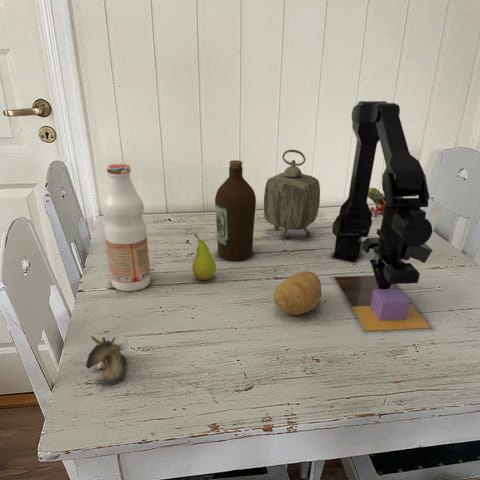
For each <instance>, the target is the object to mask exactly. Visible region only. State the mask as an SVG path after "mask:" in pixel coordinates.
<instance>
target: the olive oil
mask: <svg viewBox="0 0 480 480" xmlns="http://www.w3.org/2000/svg"><path fill="white" fill-rule="evenodd" d="M256 205H257V197H256V193H255V191H254V188H253V187H252V186H251V184H249V182H247V181H246V180H245V178H244V176H243V161H242V160H238V159H234V160H230V161H229V167H228V177H227V179H226V180H224V182H223V183H222V184H221V185H220V186H219V187H218V189H217V191H216V194H215V197H214V208H215V221H216V222H215V224H216V237H217V238H216V241H217V255H218V258H219V257H220V259H222V260H224V261H225V260H226V261H228V262H242V261H245V260H248V259H250V258H251V257H252V256H253V246H254V244H253V243H254V229H255V220H256V219H255V217H256Z"/></svg>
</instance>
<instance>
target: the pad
mask: <svg viewBox="0 0 480 480" xmlns="http://www.w3.org/2000/svg"><path fill="white" fill-rule="evenodd" d="M351 308H352V310H353V311H354V313H355V315H356V316H357V318H358V320H359V321H360V323H361V325H362V326H363V328H364V330H365V332H377V331H379V332H380V331H400V330H402V331H403V330H425V329H431V326H430V325H429V323H428V322H427V321H426V320H425V318H424V317H423V316H422V315H421V314H420V312H419V311H418V310H417V309H416V307H415V306H414V305H413V304H412V303H411V304H409V308H408V313H407V317H406V320H383V321H379V319H378V318H377V316H376V315H375V313H374V312H373V310H372V309H371V307H370V306H356V307H352V306H351Z"/></svg>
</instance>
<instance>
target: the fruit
mask: <svg viewBox="0 0 480 480" xmlns="http://www.w3.org/2000/svg"><path fill="white" fill-rule="evenodd" d="M194 237H195V238H196V239H197V241H198V242H197V243H198V244H197V246H196V253H195V254H196V255H195V256H194V257H195V258H194V260H193V261H192V267H191V268H192V272H193V274H194V276H195V277H196V278H197V279H198V280H200V281H207V280H210V279H211V278H212V277H213V276H214V275H215V273H216V271H217V265H216V261H215V259H214V257H213V256H212V253H211V252H210V249H209V248H208V246H207V244H206V243H205V241H204V240H202V239H200V238H199V236H198V235H197V234H196V233H194Z"/></svg>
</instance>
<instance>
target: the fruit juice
mask: <svg viewBox="0 0 480 480" xmlns="http://www.w3.org/2000/svg"><path fill="white" fill-rule="evenodd" d="M131 171H132V170H131V166H130V164H127V163H113V164H109V165H107V166H106V173H107V175H108V182H107V187H106V189H105V190H106V191H105V194H104V197H103V199H102V202H101V211H102V214H103V216H104V219H105V223H104V229H103V230H104V240H105V246H106V253H107V254H106V255H107V261H108V269H109V276H110V282H111V285H112V287H113V288H114V289H116V290H118V291H122V292H134V291H135V292H136V291H140V290H143V289H145V288H147V287H148V286H149V285H150V284H151V268H150V267H151V266H150V256H149V255H150V254H149V245H148V232H147V226H146V223H145V221H144V217H143V215H144V209H145V206H144V201H143V200H142V198H141V196H140V195H139V193H138V191H137V189H136V187H135V185H134V183H133V180H132V178H131V176H130V175H131Z"/></svg>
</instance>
